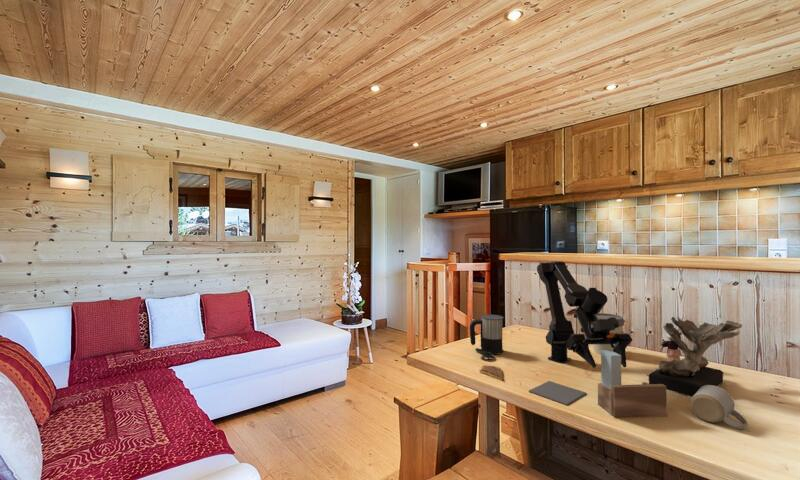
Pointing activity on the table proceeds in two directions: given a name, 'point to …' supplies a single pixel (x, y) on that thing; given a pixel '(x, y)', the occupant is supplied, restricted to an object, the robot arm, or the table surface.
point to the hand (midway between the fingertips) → (610, 367)
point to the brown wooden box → (634, 400)
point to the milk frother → (488, 335)
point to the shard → (492, 371)
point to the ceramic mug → (716, 406)
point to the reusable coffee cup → (617, 330)
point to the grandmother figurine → (671, 349)
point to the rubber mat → (557, 392)
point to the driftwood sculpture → (692, 357)
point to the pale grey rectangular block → (610, 368)
